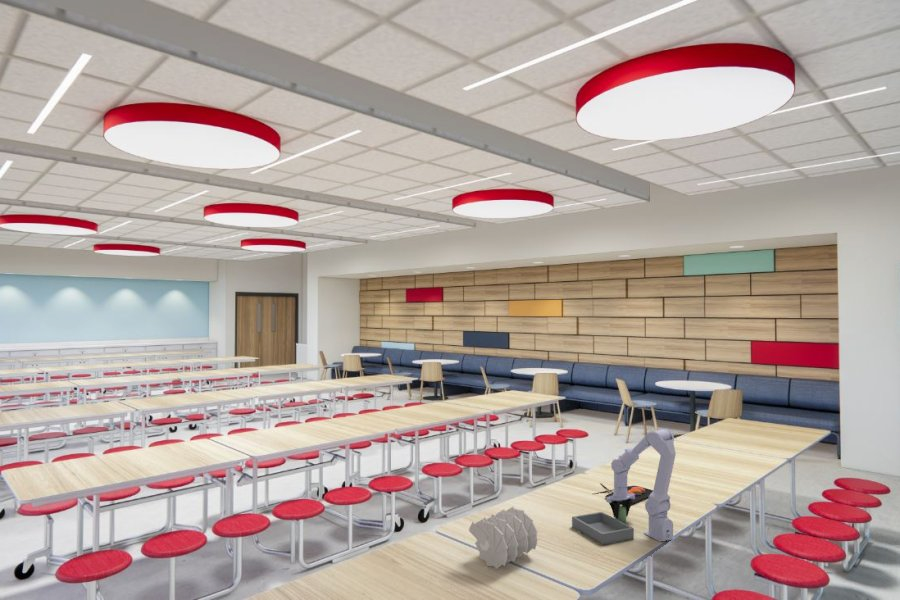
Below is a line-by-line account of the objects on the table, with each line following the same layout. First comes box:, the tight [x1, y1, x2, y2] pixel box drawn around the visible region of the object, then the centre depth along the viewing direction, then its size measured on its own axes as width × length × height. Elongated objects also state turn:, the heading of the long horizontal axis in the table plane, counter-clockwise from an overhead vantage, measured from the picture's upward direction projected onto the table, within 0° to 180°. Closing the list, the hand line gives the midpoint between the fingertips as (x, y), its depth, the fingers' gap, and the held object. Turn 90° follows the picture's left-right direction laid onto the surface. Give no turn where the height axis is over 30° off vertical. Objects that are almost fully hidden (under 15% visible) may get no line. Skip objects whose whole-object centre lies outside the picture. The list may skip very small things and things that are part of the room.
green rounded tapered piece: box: [614, 504, 627, 524], centre depth 239 cm, size 5×5×6 cm
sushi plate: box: [593, 483, 654, 504], centre depth 279 cm, size 29×30×4 cm
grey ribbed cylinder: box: [468, 506, 539, 570], centre depth 201 cm, size 18×18×25 cm
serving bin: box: [571, 511, 635, 546], centre depth 226 cm, size 20×16×4 cm
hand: (620, 516), depth 239 cm, fingers closed on green rounded tapered piece, 5 cm apart
